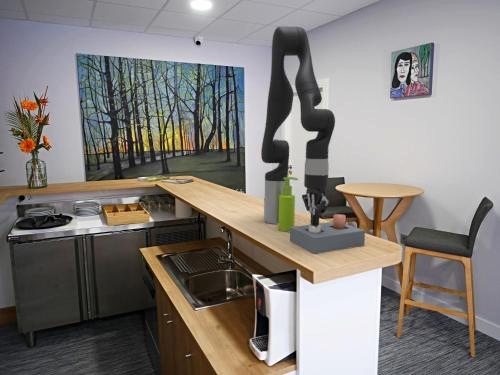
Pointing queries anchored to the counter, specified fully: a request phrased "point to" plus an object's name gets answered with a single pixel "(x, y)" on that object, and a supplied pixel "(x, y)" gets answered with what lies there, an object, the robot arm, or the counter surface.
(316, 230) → the steel plug
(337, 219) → the terracotta plug
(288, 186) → the soap dispenser
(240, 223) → the counter surface
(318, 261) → the counter surface
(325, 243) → the plug board
